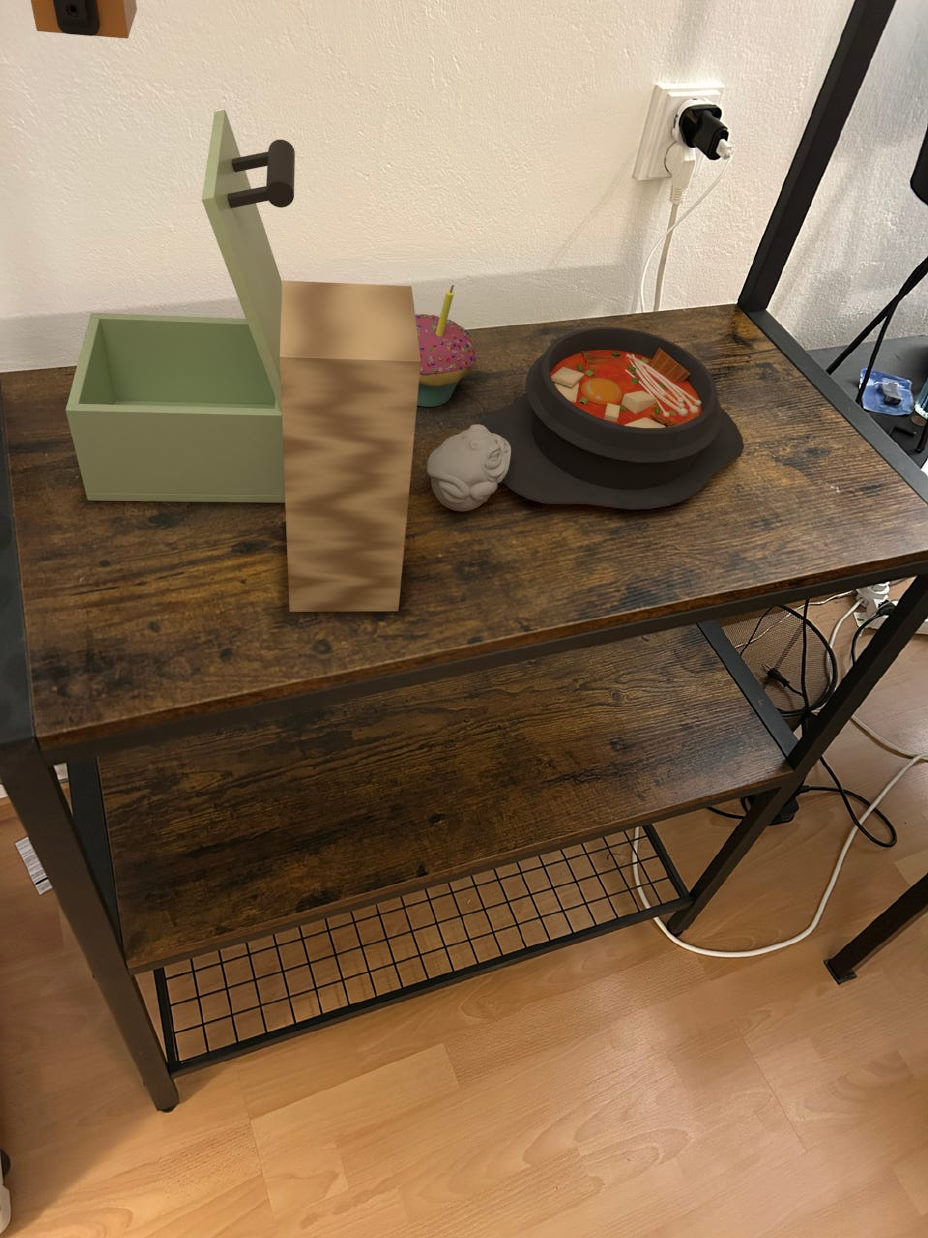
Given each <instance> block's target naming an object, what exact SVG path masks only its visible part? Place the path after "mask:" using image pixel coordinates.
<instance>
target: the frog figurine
mask: <svg viewBox="0 0 928 1238" xmlns="http://www.w3.org/2000/svg"><path fill="white" fill-rule="evenodd" d="M510 457H511V447H510V444H509V443H508V441H506V440H505V439H504V438H502V437H501V436H499V435H497V434H494V433H493V434H492V433H490V432H489V430H488V429H487V428H486V427H485V426H483V425H480V423H479V424H472V425H470V426H469V427H468V429H464V430H463V431H461V432H460V433H458V434H454V435H452V436H450V437H448V438H446V439H445V440H444V441H443V442H442V443H441V444H440V445H439V446H438V447H436V448H435V449H434V450H433V451H432V452H431V454H429V457H428V459H427V461H426V472H427V475H428V476H430V477H431V479H430V481H431V482H430V483H431V489H432V491H433V494H434V496H435V498H436V500H438V502H439V503H440V504H441V505H442V506H444V507H446V508H447V509H449V510H452V511H455V512H468V511H469V512H470V511H472V510H475V509H478V507H480V506H482V504H484V503H486V502H488V499H490V497H491V495H492V494H494V493H495V492H496V490H497V489H498V484H499V483H502V482H501V481H502V479H503V478H505V475H506V473H507V471H508V468H509V463H510Z"/></svg>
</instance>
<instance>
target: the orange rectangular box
mask: <svg viewBox="0 0 928 1238" xmlns="http://www.w3.org/2000/svg"><path fill="white" fill-rule="evenodd" d="M30 4H31V5H30V6H31V9H32V10H31V11H32V15H33V19H34V25H35V29H36V31H37V32H41V33H42V32H43V33H55V34H65V33H64V32H62V31H61V30H60V29H59V27H58V24H57V19H56V14H55V8H54V3H53V0H30ZM97 7H98V13H99V20H100V28H99V30H98V33H97V34H96V35H94V36H93V37H105V38H117V39H129V37H130V33H131V30H132V27H133V24H134V20H135V18H136V14H137V11H138V7H137V0H97Z"/></svg>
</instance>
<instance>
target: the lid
mask: <svg viewBox="0 0 928 1238" xmlns="http://www.w3.org/2000/svg"><path fill="white" fill-rule="evenodd" d="M227 113H228V112H227V111H226V109H222V110H217V111H214V113H213V120H212V127H211V133H210V140H209V145H208V146H209V147H208V153H207V160H206V167H205V173H204V181H203V188H202V194H201V202H202V205H203V208H204V210H205V213H206V215H207V218H208V221H209V223H210V226H211V229H212V232H213V234H214V237H215V240H216V242H217V245H218V248H219V250H220V253H221V255H222V258H223V262H224V264H225V266H226V269H227V271H228V272H227V273H228V274H229V277H230V280H231V282H232V285H233V288H234V290H235V293H236V295H237V298H238V301H239V303H240V306H241V309H242V313H243V314H244V317H245V319H246V320H247V323H248V325H249V328H250V331H251V333H252V336H253V339H254V341H255V344H256V347H257V349H258V352H259V355H260V357H261V360H262V363H263V366H264V368H265V371H266V374H267V376H268V379H269V382H270V384H271V387H272V390H273V392H274V395H275V398H276V400H277V403H278V406H279V408H280V411H282V403H281V377H280V332H281V302H282V281H283V279H282V277H281V275H280V271H279V269H278V265H277V262H276V259H275V256H274V254H273V250H272V247H271V245H270V241H269V238H268V235H267V232H266V228H265V226H264V223H263V220H262V216H261V214H260V211H259V207H258V205H257V204H260V203H264V202H268V203H270V204H271V205H272V206H274V207H275V208H280V209H281V208H282V209H283V208H286V207H288V206H290V205H291V204H292V203H293V201H294V199H295V173H296V172H295V171H296V169H295V167H296V152H295V148H294V146H293V145H292V144H291V143H290V142H289V141H287V140H285V139H275V140H274V141H272V142H271V143H269V146H268V150H267V151H263V152H258V153H254V154H249V155H244V156H242V155H241V153H240V150H239V146H238V143H237V141H236V138H235V135H234V132H233V129H232V126H231V123H230V120H229V116H228V114H227ZM263 167H266V183H265V184H266V185H263V186H259V187H254V188H252V186H251V184H250V180H249V177H248V175H247V171H249V170H254V169H258V168H263Z"/></svg>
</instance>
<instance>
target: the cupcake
mask: <svg viewBox="0 0 928 1238" xmlns="http://www.w3.org/2000/svg"><path fill="white" fill-rule="evenodd" d="M454 288H455V284H451V286H450V289H447V290H446V291H445V295H444V299H443V303H442V307H441V310H440V314H439V315H440V316H439V315H435V314H427V313H425V314H423V313H420V314H415V318H416V326H417V334H418V342H419V350H420V358H421V366H420V377H419V389H418V400H417V407H424V408H432V407H433V408H434V407H439V406H442V405H445V404H446V403H447V402H448V401H449V400H450V399H451V397H452V395H453V393H454V391H455V389H456V387H457V386H458V384H459V382H460V381H461V380H462V379H464V378H465V377H467V376H469V375H470V373H471V371H472V368H473V366H474V365H475V363H476V361H477V353H476V349H475V345H474V340H473V338H472V335H471V334H470V333H469V332H468V331H467V330H466V328H465V327H463V326H462V325H459V324H458V323H456V322H455V321H453V320H451V319H448V317H449V313H450V310H451V306H452V303H453V298H454V296H455V295H454V294H455V293H454V291H453V290H454Z"/></svg>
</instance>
